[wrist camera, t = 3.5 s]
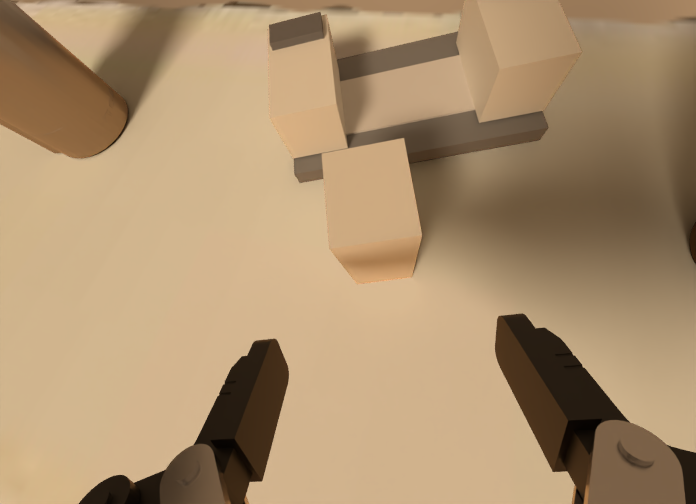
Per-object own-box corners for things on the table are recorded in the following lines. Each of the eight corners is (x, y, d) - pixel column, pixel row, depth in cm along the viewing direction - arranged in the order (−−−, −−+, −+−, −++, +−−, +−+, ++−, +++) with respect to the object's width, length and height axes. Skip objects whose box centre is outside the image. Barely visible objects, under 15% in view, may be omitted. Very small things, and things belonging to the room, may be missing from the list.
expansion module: (357, 284, 23) (329, 248, 14) (350, 220, 25) (320, 149, 15) (411, 277, 23) (422, 235, 13) (400, 212, 24) (403, 133, 15)
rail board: (299, 182, 27) (266, 129, 20) (294, 83, 30) (264, 8, 23) (539, 139, 24) (596, 61, 17) (502, 36, 28) (537, -64, 21)
